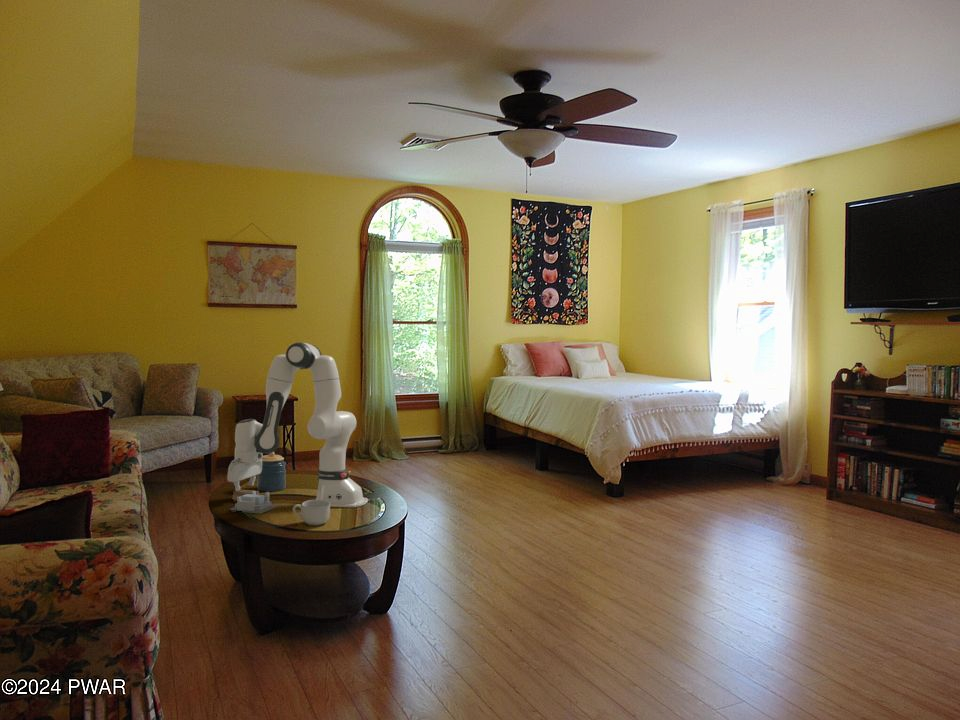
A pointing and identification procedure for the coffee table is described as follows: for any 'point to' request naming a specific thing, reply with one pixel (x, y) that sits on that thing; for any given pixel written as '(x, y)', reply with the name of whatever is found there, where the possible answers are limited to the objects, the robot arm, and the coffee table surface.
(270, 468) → the canister
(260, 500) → the pale grey upright block
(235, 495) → the tan cardboard carton
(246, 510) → the jig
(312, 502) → the teacup
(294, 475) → the coffee table surface
